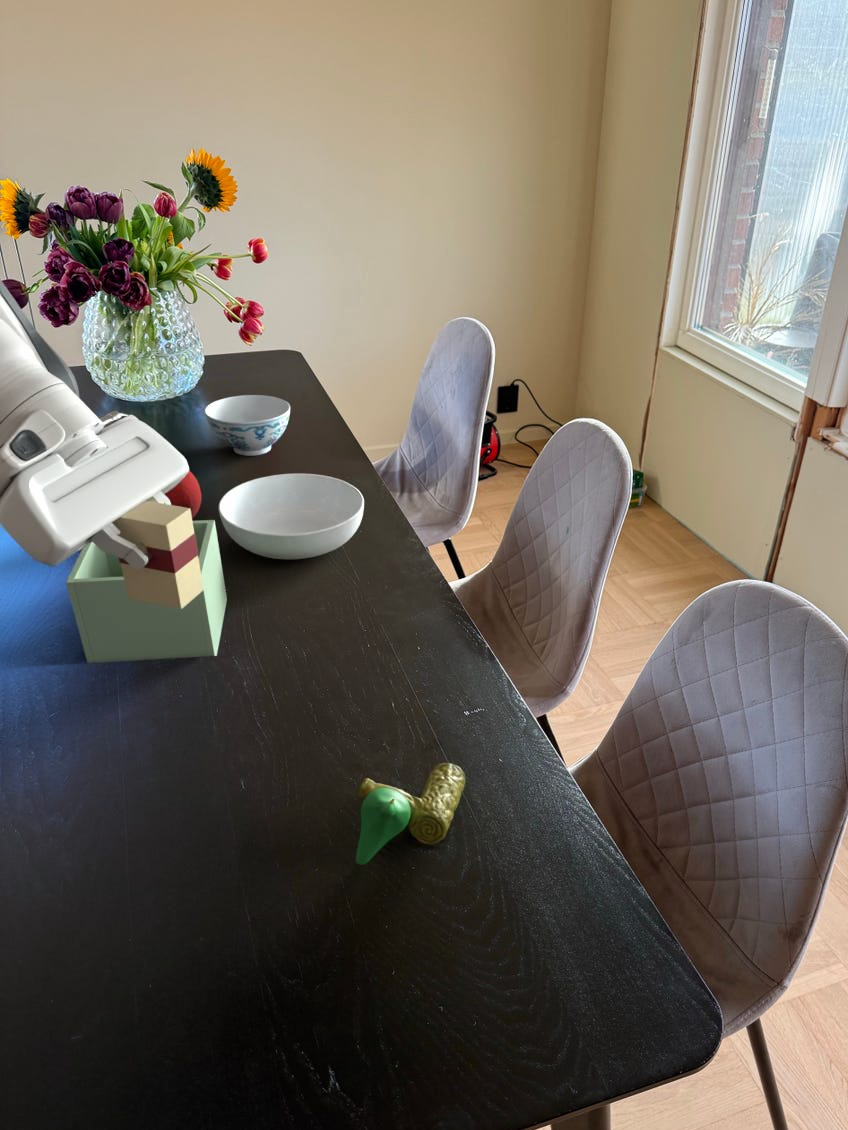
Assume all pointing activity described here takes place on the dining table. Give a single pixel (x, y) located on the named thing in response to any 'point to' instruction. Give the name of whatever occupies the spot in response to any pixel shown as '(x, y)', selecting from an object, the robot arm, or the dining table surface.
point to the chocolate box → (162, 554)
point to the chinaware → (249, 422)
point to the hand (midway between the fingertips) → (163, 551)
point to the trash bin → (146, 609)
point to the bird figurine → (408, 810)
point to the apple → (186, 494)
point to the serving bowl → (292, 515)
